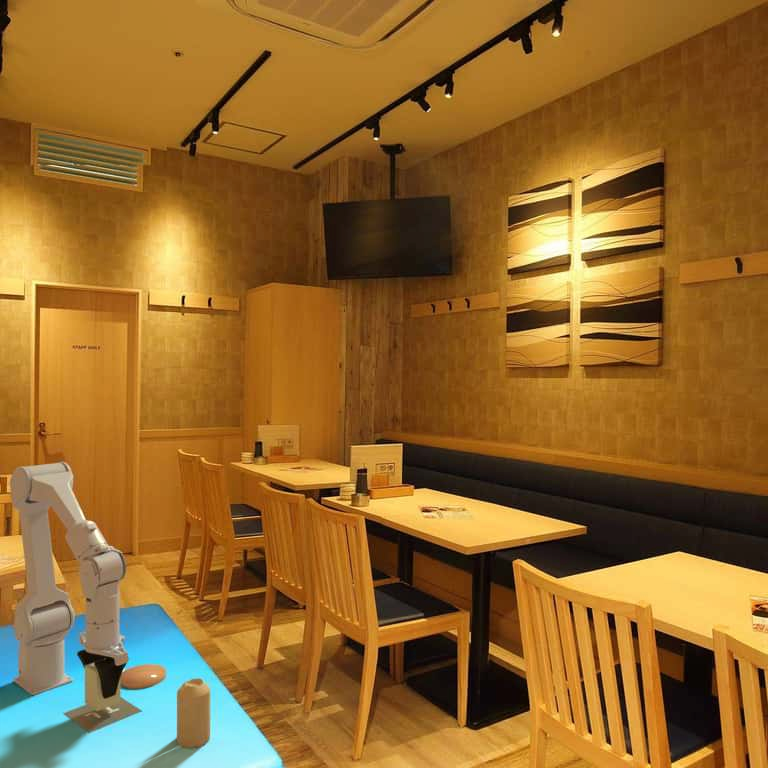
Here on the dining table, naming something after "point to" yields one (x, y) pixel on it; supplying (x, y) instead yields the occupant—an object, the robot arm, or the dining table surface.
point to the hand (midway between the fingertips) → (102, 691)
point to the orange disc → (142, 676)
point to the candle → (193, 714)
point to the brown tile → (101, 715)
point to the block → (97, 690)
